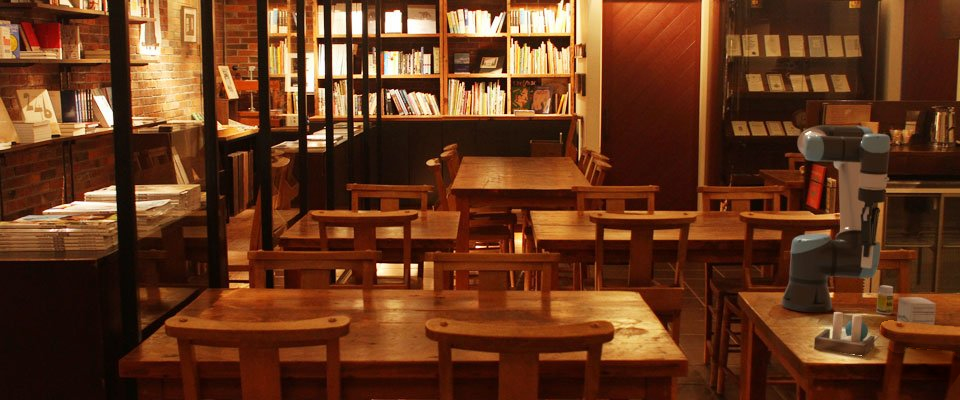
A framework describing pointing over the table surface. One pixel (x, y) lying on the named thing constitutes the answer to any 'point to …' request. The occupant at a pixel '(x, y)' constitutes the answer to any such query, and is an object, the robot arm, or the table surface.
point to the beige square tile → (860, 341)
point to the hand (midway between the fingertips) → (866, 267)
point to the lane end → (842, 344)
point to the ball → (863, 330)
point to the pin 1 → (837, 325)
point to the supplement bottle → (885, 300)
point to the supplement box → (916, 310)
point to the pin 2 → (856, 328)
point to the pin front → (847, 338)
